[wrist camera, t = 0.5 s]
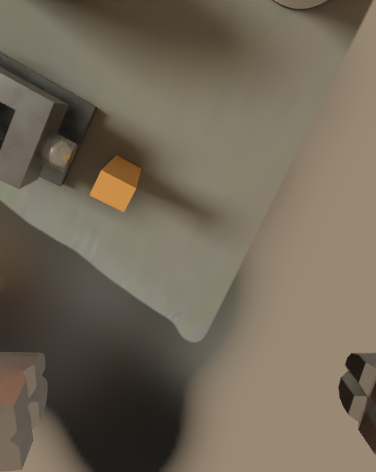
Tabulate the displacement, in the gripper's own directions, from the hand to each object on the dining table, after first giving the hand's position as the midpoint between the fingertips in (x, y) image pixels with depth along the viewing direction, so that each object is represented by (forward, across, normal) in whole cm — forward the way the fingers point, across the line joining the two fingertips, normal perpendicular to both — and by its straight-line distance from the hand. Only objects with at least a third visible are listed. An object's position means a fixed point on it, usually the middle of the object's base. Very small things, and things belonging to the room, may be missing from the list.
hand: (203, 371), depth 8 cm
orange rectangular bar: (+41, +6, +1) cm, 42 cm away
